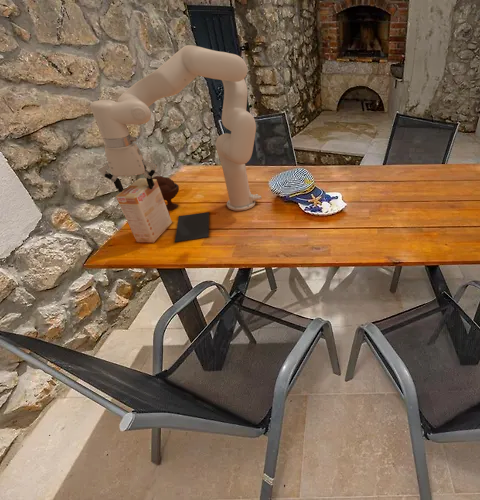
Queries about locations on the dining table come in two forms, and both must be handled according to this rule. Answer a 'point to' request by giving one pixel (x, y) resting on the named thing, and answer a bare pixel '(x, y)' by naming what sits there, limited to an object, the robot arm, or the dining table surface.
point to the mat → (192, 227)
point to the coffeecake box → (144, 210)
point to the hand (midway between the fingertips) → (136, 189)
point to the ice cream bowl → (168, 190)
